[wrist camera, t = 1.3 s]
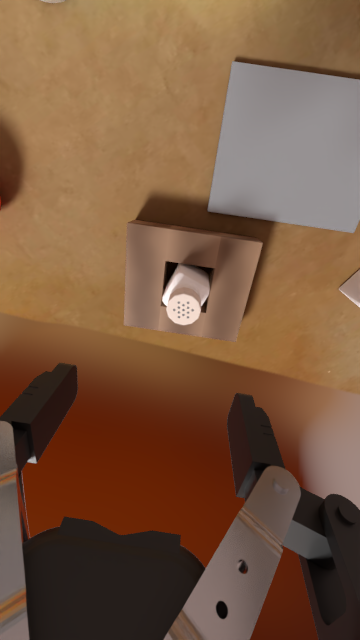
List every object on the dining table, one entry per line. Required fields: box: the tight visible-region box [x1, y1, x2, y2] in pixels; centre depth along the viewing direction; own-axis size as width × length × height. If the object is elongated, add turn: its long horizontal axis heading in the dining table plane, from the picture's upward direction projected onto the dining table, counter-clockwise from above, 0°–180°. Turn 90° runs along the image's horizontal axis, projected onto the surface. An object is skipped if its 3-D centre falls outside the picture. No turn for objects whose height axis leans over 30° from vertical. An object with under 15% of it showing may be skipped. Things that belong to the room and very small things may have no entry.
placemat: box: [207, 61, 360, 233], centre depth 24 cm, size 16×12×1 cm
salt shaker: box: [162, 263, 210, 325], centre depth 27 cm, size 4×4×10 cm
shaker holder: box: [124, 220, 263, 342], centre depth 30 cm, size 14×12×4 cm
